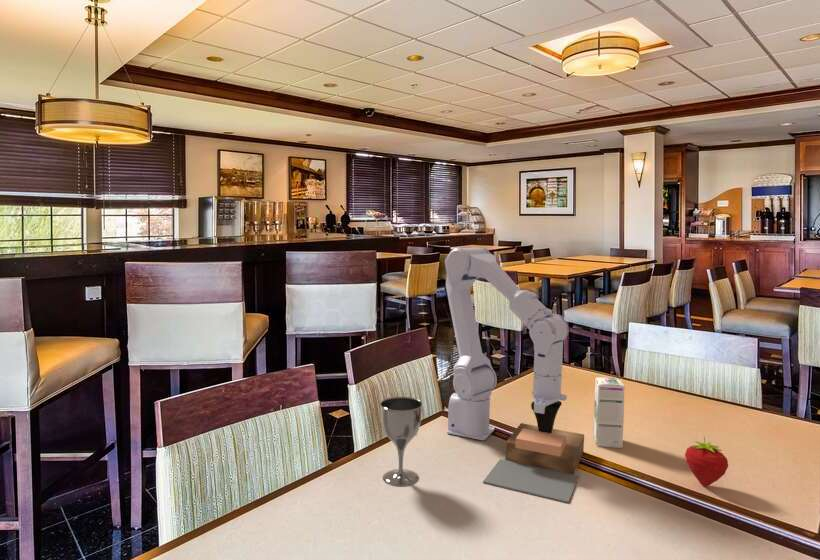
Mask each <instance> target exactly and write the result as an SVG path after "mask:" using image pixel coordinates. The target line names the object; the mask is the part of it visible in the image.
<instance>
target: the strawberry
mask: <svg viewBox="0 0 820 560" xmlns="http://www.w3.org/2000/svg"><path fill="white" fill-rule="evenodd" d="M705 437H706V436H703V442H700V441H697V440H694V441H693V442H694V443H696V444H698V445H690V446H688V447H686V450H685V453H684V456H685V461H686V465H687V466H688V468H689V469H690V471H691V473H692V474H693V476H694V477H695V478H696V479H697V481H698V482H699V484H700V485H701V486H702V487H709V486H710V485H712V484H713V483H715V482H717V481H718V480H719V479H721V478H722V477H723V476H725V474H726V472H727V470H728V467H729V461H728V458H727V457H726V456H725V454H724V453H722V451H723V450H722V449H720V448H719V446H717V445H713V444H712V442H707V443H706V439H705Z"/></svg>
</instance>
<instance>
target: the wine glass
mask: <svg viewBox="0 0 820 560" xmlns="http://www.w3.org/2000/svg"><path fill="white" fill-rule="evenodd" d="M422 413H423V403H422V401H421V400H419V399H417V398H415V397H411V396H410V397H409V396H392V397H388V398H385V399H382V401H380V419H381V426H382V429H383V431H384V434H385V436H386V437H387V438H389V440H390V441H391V442H392V443H393V444H394V446H395V447H396V450H397V455H398V468H395V469H394V468H393V469H390V470H387V471H386V472H385V473H384V474H383V475H382V481H383V482H384V483H385V484H387V485H390V486H392V487H409V486H412V485H415V484H416V483H418V482H419V479H420V477H419V474H418V473H417V472H415V471H414V470H411V469H408V468H404V465H403V464H404V455H405V450H406V448H407V446H408V445H409V443H410V442H412V440H413V439H414V438H415V437H416V436H417V434H418V432H419V430H420V426H421V422H422V418H423V417H422V415H423V414H422Z"/></svg>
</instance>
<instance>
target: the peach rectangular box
mask: <svg viewBox="0 0 820 560" xmlns="http://www.w3.org/2000/svg"><path fill="white" fill-rule="evenodd" d="M565 446H566V436H563V435H557V434H552V433H546V432H541V431H535V430H530V429H524V428H523V429H522V431H521V432H520V433H519V435H518V436H517V437H516V447H515V448H519V449H524V450H529V451H534V452H539V453H544V454H550V455H555V456H561V454H562V452H563V450H564V448H565Z"/></svg>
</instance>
